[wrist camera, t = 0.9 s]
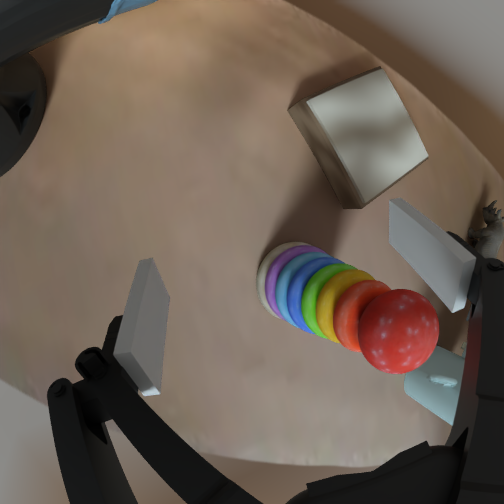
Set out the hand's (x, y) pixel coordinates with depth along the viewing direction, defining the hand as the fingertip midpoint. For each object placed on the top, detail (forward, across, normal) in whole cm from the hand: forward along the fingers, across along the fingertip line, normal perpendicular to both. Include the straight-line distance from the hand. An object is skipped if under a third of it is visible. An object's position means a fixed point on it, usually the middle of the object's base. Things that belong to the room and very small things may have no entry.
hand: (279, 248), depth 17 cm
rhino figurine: (+17, +32, -17) cm, 40 cm away
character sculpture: (+9, +21, -31) cm, 39 cm away
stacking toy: (+12, +2, -11) cm, 16 cm away
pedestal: (+19, +13, 0) cm, 23 cm away
